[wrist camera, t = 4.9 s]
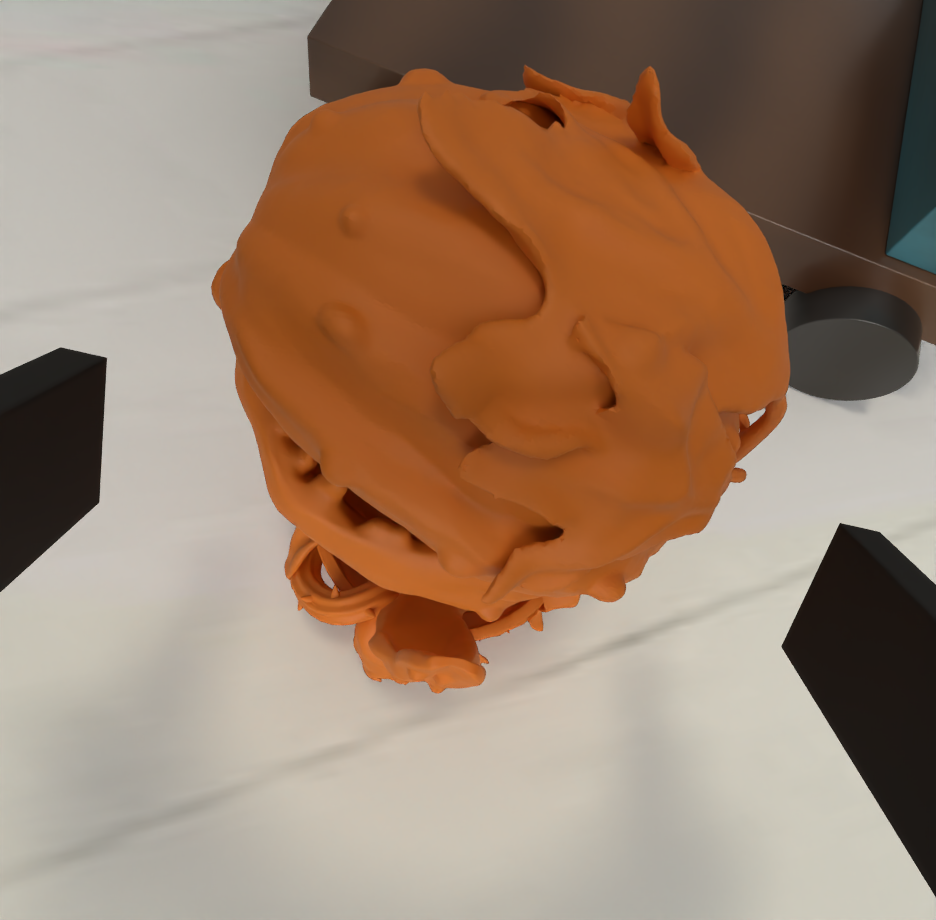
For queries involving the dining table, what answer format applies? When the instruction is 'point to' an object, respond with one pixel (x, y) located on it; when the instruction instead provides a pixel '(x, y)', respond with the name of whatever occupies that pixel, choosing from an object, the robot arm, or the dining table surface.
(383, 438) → the orange creature figurine
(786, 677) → the dining table surface
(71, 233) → the dining table surface
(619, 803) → the dining table surface
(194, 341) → the dining table surface
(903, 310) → the toy car
